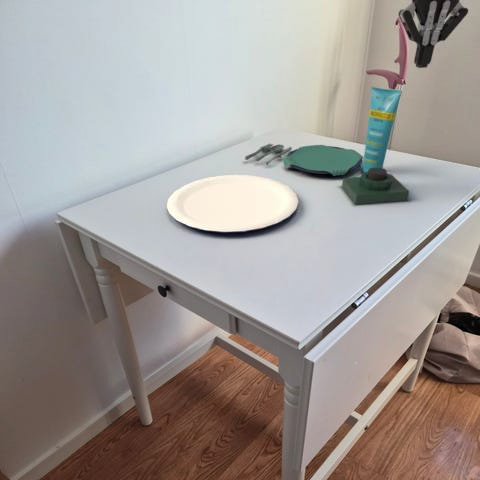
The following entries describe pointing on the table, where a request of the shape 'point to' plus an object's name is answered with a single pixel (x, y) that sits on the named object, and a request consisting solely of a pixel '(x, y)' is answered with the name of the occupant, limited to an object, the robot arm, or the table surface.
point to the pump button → (376, 174)
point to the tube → (380, 126)
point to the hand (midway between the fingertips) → (421, 67)
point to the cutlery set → (315, 158)
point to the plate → (232, 203)
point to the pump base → (374, 189)
